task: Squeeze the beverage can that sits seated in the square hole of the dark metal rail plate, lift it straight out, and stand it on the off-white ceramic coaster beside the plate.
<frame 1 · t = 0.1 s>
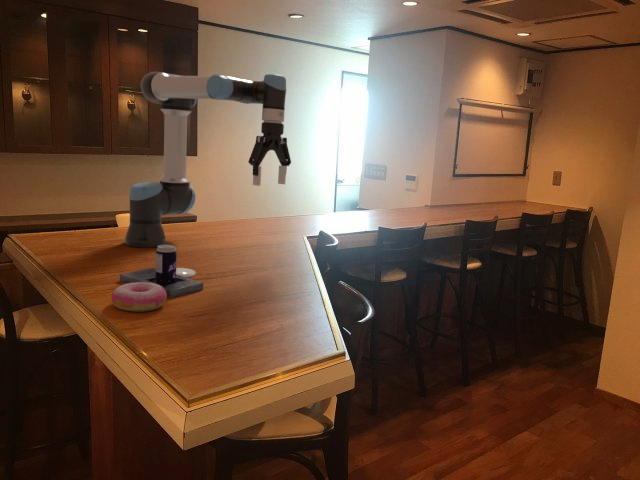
hand: (269, 184, 182), 28 cm above the bar counter, fingers open, 13 cm apart
coaster: (179, 273, 165), on the bar counter
donut: (139, 306, 135), on the bar counter
beverage can: (165, 287, 151), resting in rail plate
rail plate: (161, 285, 152), on the bar counter
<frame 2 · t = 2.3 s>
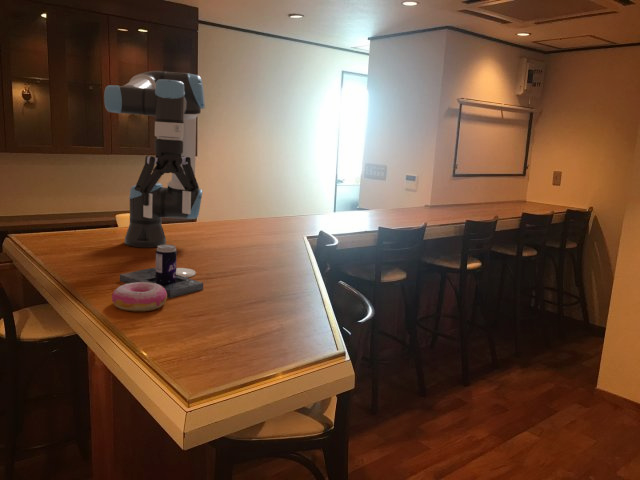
hand: (167, 215, 147), 21 cm above the bar counter, fingers open, 13 cm apart
nothing on the bar counter moved.
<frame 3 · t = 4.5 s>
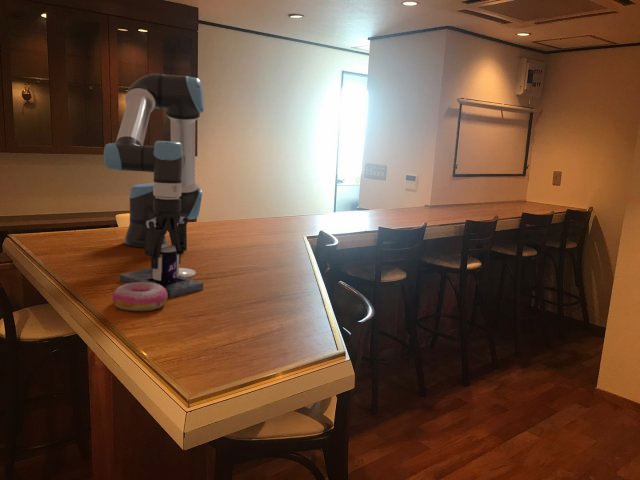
hand: (165, 277, 151), 3 cm above the bar counter, fingers closed on beverage can, 6 cm apart
beverage can: (165, 287, 151), resting in rail plate, touching gripper
everything else where it was.
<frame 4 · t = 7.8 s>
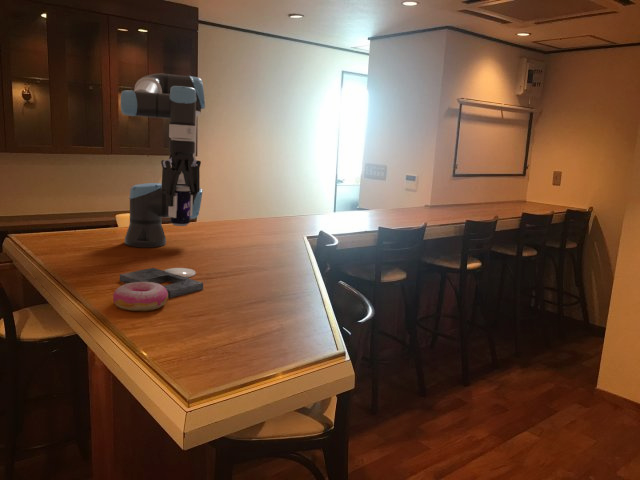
hand: (180, 215, 162), 19 cm above the bar counter, fingers closed on beverage can, 6 cm apart
beverage can: (180, 225, 162), point 16 cm above the bar counter, touching gripper
everything else where it was.
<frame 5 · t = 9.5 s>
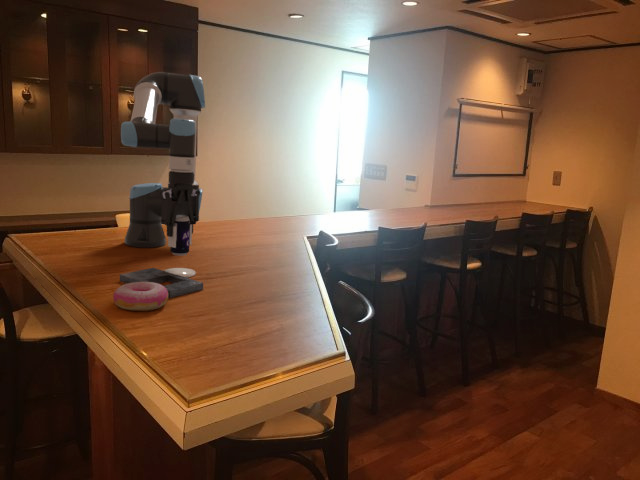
hand: (179, 245, 163), 9 cm above the bar counter, fingers closed on beverage can, 6 cm apart
beverage can: (179, 254, 164), point 6 cm above the bar counter, touching gripper
everything else where it was.
when the fingers open (4 cm above the bar counter, at t = 10.9 s): beverage can stays where it is, resting on coaster.
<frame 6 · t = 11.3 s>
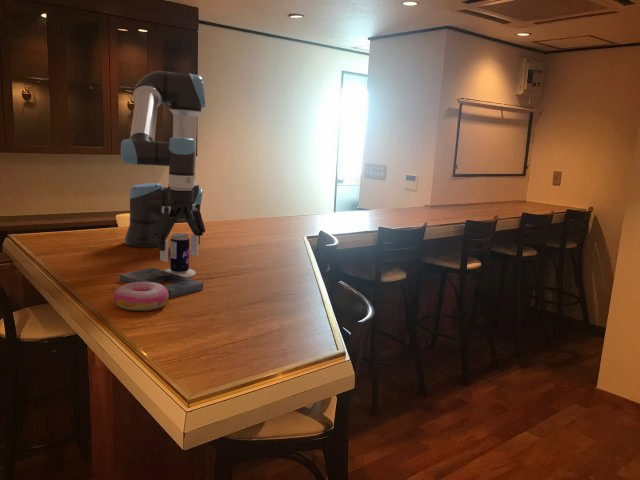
hand: (179, 257, 164), 5 cm above the bar counter, fingers open, 11 cm apart
beverage can: (179, 272, 165), resting on coaster
everything else where it was.
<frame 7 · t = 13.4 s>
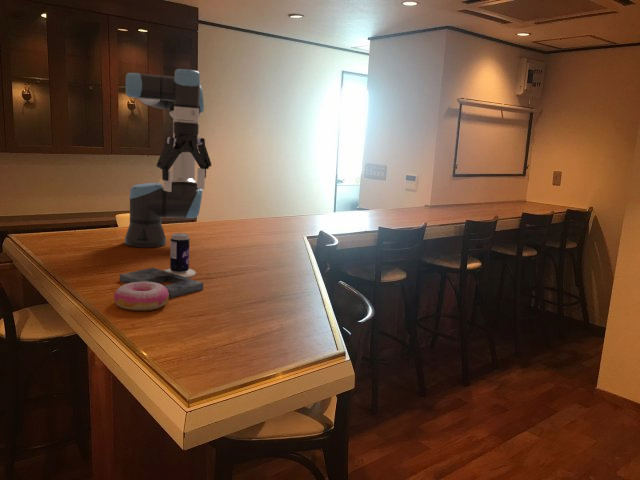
hand: (184, 189, 167), 26 cm above the bar counter, fingers open, 13 cm apart
nothing on the bar counter moved.
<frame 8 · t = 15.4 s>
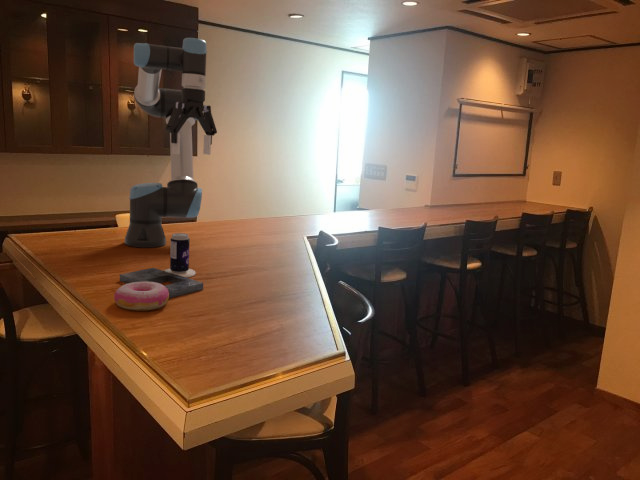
hand: (191, 154, 175), 37 cm above the bar counter, fingers open, 13 cm apart
nothing on the bar counter moved.
at the end: beverage can inside the target area on the coaster (0.1 cm from its centre), point 0.4 cm above the coaster's base; beverage can tilted 0°; the gripper is holding nothing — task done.
